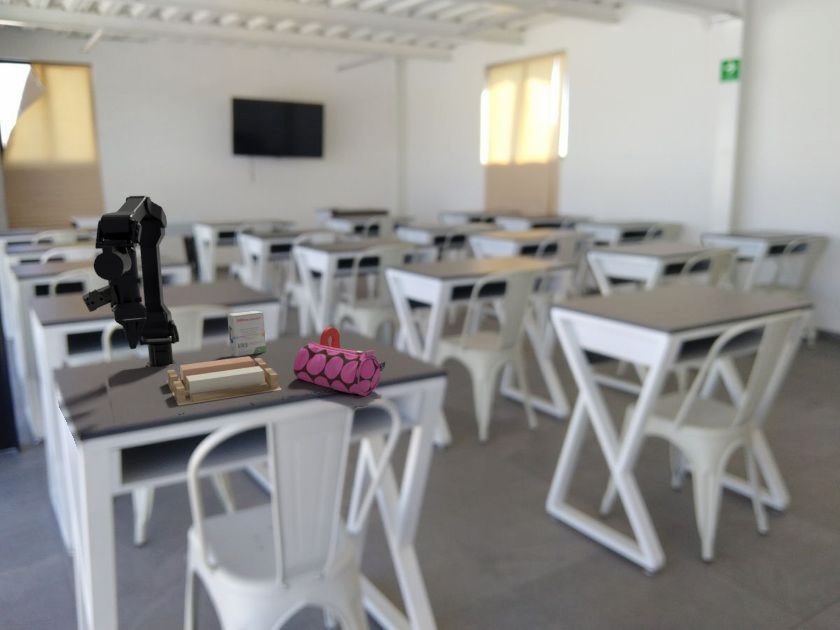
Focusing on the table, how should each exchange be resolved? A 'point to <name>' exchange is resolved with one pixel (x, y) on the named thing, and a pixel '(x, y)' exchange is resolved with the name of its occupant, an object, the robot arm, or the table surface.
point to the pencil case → (338, 368)
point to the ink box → (246, 333)
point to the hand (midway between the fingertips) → (131, 344)
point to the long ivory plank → (224, 380)
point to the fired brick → (215, 366)
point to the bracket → (333, 333)
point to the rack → (183, 397)
